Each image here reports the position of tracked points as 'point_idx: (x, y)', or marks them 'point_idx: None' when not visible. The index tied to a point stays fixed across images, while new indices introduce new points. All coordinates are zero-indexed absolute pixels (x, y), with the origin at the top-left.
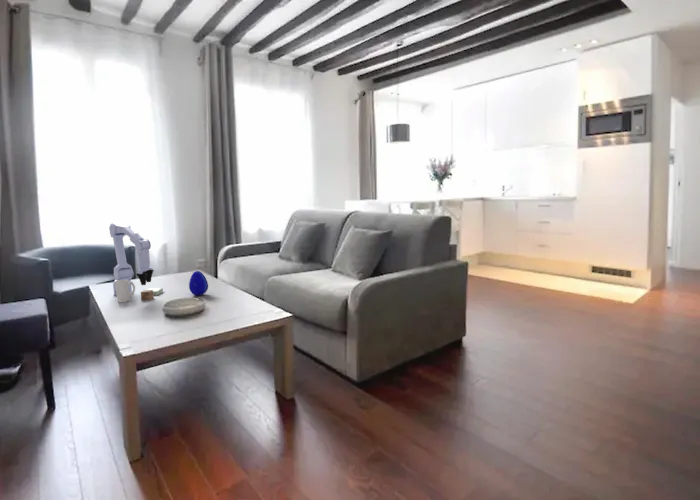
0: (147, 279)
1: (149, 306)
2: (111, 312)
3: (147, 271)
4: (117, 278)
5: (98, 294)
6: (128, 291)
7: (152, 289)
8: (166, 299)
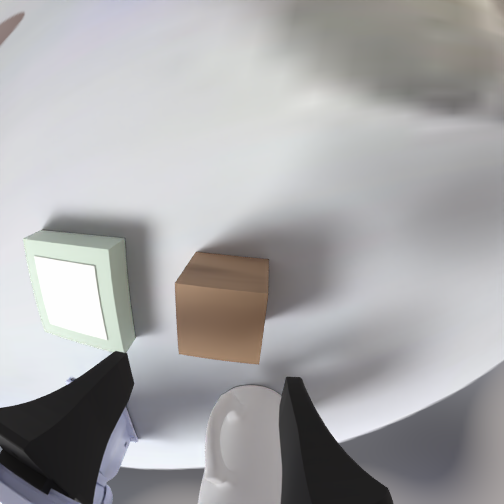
0: (118, 399)
1: (454, 217)
2: (465, 371)
3: (71, 479)
4: (111, 495)
5: (131, 464)
6: (247, 431)
7: (64, 300)
8: (276, 120)
